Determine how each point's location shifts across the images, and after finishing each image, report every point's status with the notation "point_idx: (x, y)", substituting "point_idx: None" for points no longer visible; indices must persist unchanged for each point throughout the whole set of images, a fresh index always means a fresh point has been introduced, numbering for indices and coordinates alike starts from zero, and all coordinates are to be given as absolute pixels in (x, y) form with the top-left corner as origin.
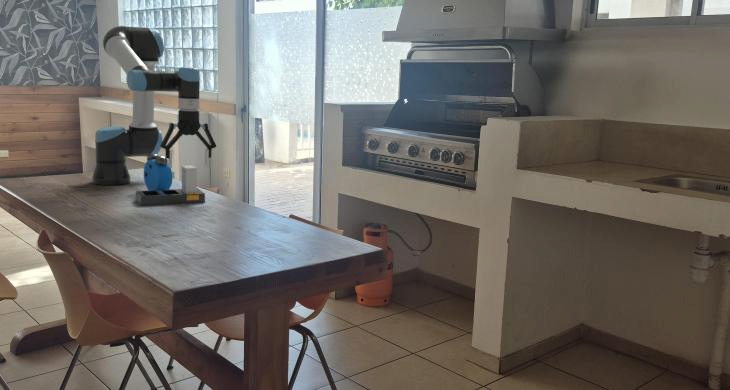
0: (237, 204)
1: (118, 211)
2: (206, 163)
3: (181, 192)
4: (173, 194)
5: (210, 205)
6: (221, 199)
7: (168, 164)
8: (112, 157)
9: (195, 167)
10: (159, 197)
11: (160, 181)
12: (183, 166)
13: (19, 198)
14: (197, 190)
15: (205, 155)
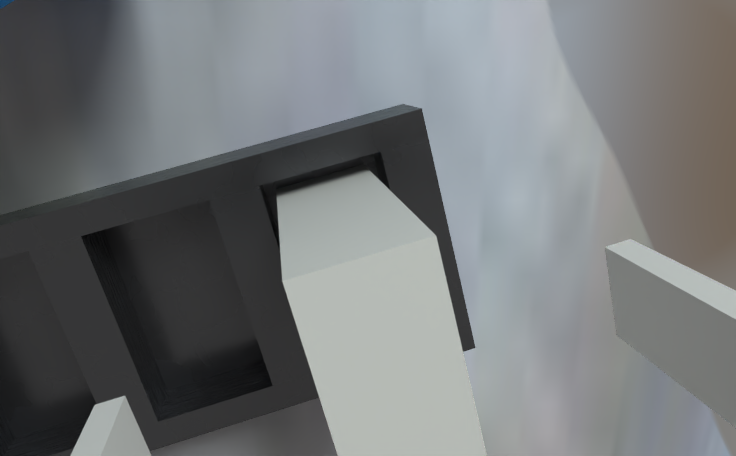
0: (657, 367)
1: None
2: (642, 346)
3: (282, 317)
4: (222, 407)
5: (485, 409)
6: (578, 198)
7: (88, 429)
8: None
9: (474, 420)
10: None
11: (3, 4)
12: (314, 355)
13: None
14: (418, 215)
15: (717, 342)
